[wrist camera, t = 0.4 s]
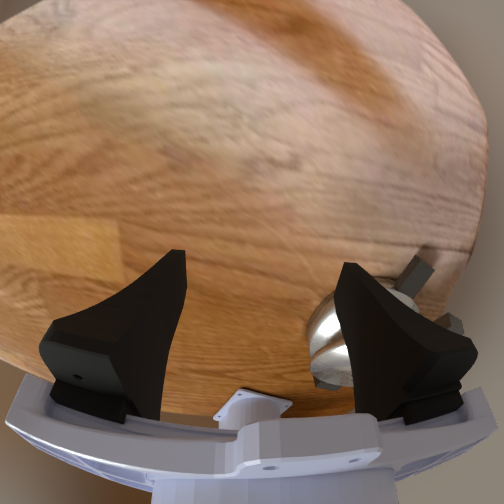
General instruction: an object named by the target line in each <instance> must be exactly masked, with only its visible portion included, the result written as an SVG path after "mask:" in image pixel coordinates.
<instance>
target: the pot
mask: <svg viewBox="0 0 504 504" xmlns="http://www.w3.org/2000/svg"><path fill="white" fill-rule="evenodd" d="M434 271H435V270H434V269H433V268H432V267H431V265H429V264H428V263H427V262H425V261H424V260H422V259H421V258H420V257H418V256H417V255H415V256H414V258H413V259H412V261H411V262H410V263H409V265H408V266H407V268H406V269H405V270H404V272H403V273H402V274H401V276H400V277H399V278H398V280H397V281H396V282H395V281H393V280H391V279H387V278H380V277H373V278H374V279H376V280H377V281H378V282H379V283H380V284H381V285H382V286H383V287H385V288H386V289H387V290H388V291H389V292H390V293H392V294H393V295H394V296H395V297H397V298H398V299H399V300H400V301H402V302H403V303H404V304H405V305H407V306H408V307H410V308H411V309H413V310H414V311H415V312H417V313H419V310H418V307H417V305H416V304H415V302H414V301H413V300H412V298H414V297H415V296H416V294H417V293H418V292H419V291H420V289H421V288H422V287H423V285H424V284H425V283H426V282H427V280H428V279H429V277H430V276H431V275H432V273H433V272H434ZM334 293H335V291H334V292H333V293H331V294H330V295H329V296H328V297H326V298H325V299H324V300H323V301H322V302H321V303H320V304H319V306H318V307H317V308H316V309H315V311H314V312H313V314H312V316H311V318H310V320H309V323H308V327H307V341H308V345H309V350H310V355H311V358H312V356H313V354H314V353H315V352H316V351H317V350H319V349H320V348H322V347H323V346H325V345H327V344H329V343H332V342H334V341H337V340H340V339H343V335H342V331H341V328H340V325H339V322H338V319H337V315H336V310H335V304H334V298H333V296H334ZM419 314H420V313H419ZM313 378H314V383H315V387H318V388H323V389H327V390H332V391H337V390H338V389H339V388H340V387H341V386H339V385H334V384H330V383H326V382H324V381H321V380H319V379H317V378H316V377H315V376H314V375H313Z"/></svg>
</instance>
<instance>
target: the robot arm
mask: <svg viewBox="0 0 504 504" xmlns="http://www.w3.org/2000/svg"><path fill="white" fill-rule="evenodd" d="M186 290H187V277H186V258H185V250H174V249H172V250H171V251H169V252H168V253H167V254H166V255H165V256H164V257H163V258H161V259H160V260H159V261H158V262H157V263H156V264H155V265H154V266H153V267H151V268H150V269H149V270H148V271H147V272H146V273H144V274H143V275H142V276H140V277H139V278H138V279H137V280H135V281H134V282H133V283H131V284H130V285H129V286H127V287H126V288H124V289H123V290H121V291H120V292H118V293H116V294H115V295H113V296H111V297H109V298H108V299H106V300H104V301H102V302H100V303H98V304H96V305H94V306H92V307H90V308H87V309H85V310H82V311H80V312H77V313H75V314H72V315H69V316H66V317H62V318H59V319H56V320H54V321H53V322H52V324H51V325H50V327H49V329H48V330H47V332H46V334H45V335H44V337H43V339H42V340H41V342H40V344H39V352H40V355H41V357H42V359H43V361H44V363H45V364H46V366H47V367H48V368H49V370H50V371H51V373H52V374H53V376H54V377H55V378H56V381H55V383H54V386H53V385H52V384H50V383H49V382H47V381H45V380H43V379H40V378H38V377H35V376H33V375H31V374H26V375H25V377H24V379H23V381H22V383H21V385H20V387H19V389H18V392H17V394H16V397H15V398H14V400H13V403H12V405H11V407H10V410H9V412H8V414H7V417H6V420H5V423H6V424H7V425H8V426H9V427H11V428H12V429H13V430H14V431H15V432H17V433H18V434H19V435H20V436H22V437H23V438H24V439H25V440H27V441H28V442H29V443H31V444H32V445H33V446H35V447H36V448H38V449H40V450H42V451H44V452H46V453H48V454H50V455H52V456H54V457H56V458H58V459H60V460H62V461H65V462H67V463H69V464H71V465H74V466H76V467H78V468H81V469H83V470H85V471H88V472H91V473H93V474H95V475H98V476H101V477H104V478H106V479H109V480H112V481H115V482H118V483H121V484H124V485H127V486H131V487H134V488H138V489H142V490H145V491H149V492H153V495H152V502H151V504H399V501H398V495H397V489H396V484H395V482H397V481H399V480H403V479H405V478H408V477H411V476H414V475H416V474H419V473H421V472H424V471H426V470H428V469H431V468H433V467H436V466H438V465H440V464H442V463H445V462H447V461H449V460H451V459H453V458H456V457H458V456H460V455H462V454H464V453H466V452H467V451H469V450H470V449H472V448H473V447H475V446H476V445H477V444H479V443H480V442H482V441H483V440H484V439H486V438H487V437H488V436H490V435H491V434H492V433H494V432H495V431H496V430H497V429H498V426H497V423H496V420H495V418H494V415H493V413H492V411H491V408H490V406H489V404H488V401H487V399H486V397H485V394H484V392H483V390H482V388H481V387H479V388H476V389H473V390H470V391H467V392H465V393H464V394H462V395H460V392H459V390H460V389H461V387H462V385H461V383H460V379H462V377H463V376H464V375H465V374H466V373H467V372H468V371H469V369H470V368H471V367H472V366H473V364H474V363H475V361H476V359H477V356H478V351H477V349H476V348H475V346H474V344H473V342H472V340H471V339H470V338H468V337H465V336H462V335H460V334H457V333H455V332H452V331H450V330H448V329H446V328H443V327H441V326H439V325H437V324H436V323H434V322H432V321H430V320H428V319H427V318H425V317H423V316H422V315H420V314H419V313H417V312H415V311H414V310H413V309H411V308H410V307H408V306H407V305H405V304H404V303H403V302H402V301H400V300H399V299H398V298H397V297H395V296H394V295H393V294H392V293H390V292H389V291H388V290H387V289H386V288H385V287H383V286H382V285H381V284H380V283H379V282H378V281H377V280H376V279H374V278H373V277H372V276H371V275H370V274H369V273H368V272H367V271H365V270H364V269H363V268H362V267H361V266H359V265H358V264H357V263H349V262H344V264H343V268H342V271H341V274H340V277H339V280H338V283H337V286H336V290H335V293H334V296H333V298H334V304H335V310H336V315H337V319H338V322H339V325H340V328H341V331H342V335H343V338H344V341H345V344H346V348H347V351H348V355H349V359H350V365H351V371H352V378H353V387H354V398H355V414H346V415H336V416H324V417H307V418H281V414H282V413H283V412H284V411H286V410H287V409H288V408H289V407H290V406H291V405H292V404H293V403H292V401H290V400H285V399H281V398H277V397H273V396H269V395H265V394H261V393H257V392H253V391H250V390H246V389H239V390H238V391H237V392H236V393H235V394H234V395H233V396H232V397H231V398H230V399H229V401H228V402H227V403H226V404H225V405H224V406H223V407H222V408H221V409H220V410H219V411H218V412H217V413H216V415H215V416H214V417H213V418H214V420H216V421H219V429H215V428H204V427H195V426H187V425H180V424H173V423H167V422H161V421H160V410H161V400H162V392H163V384H164V378H165V371H166V365H167V360H168V354H169V350H170V346H171V343H172V339H173V336H174V333H175V330H176V327H177V324H178V321H179V318H180V315H181V312H182V309H183V305H184V300H185V295H186Z"/></svg>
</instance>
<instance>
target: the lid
mask: <svg viewBox="0 0 504 504" xmlns="http://www.w3.org/2000/svg"><path fill="white" fill-rule="evenodd" d="M434 323H436V324H437V325H439V326H441V327H443V328H446V329H448V330H450V331H452V332H455V333H457V334H460V335H463V334H464V329H463V325H462V321H461V320H460V319H458V318H457V317H455V316H453V315H452V314H450V313H446V314H445V315H443V316H442V317H440V318H438V319H437V320H435V321H434ZM310 371H311V373H312V374H313V375H314V376H315V377H316V378H317V379H319V380H321V381H324V382H326V383H330V384H334V385H339V386H348V387H353V378H352V371H351V365H350V359H349V355H348V351H347V348H346V344H345V341H344V338H343V339H340V340H337V341H334V342H332V343H329V344H327V345H325V346H323V347H322V348H320V349H319V350H317V351H316V352H315V353H314V354H313V356H312V358H311V366H310Z"/></svg>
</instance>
